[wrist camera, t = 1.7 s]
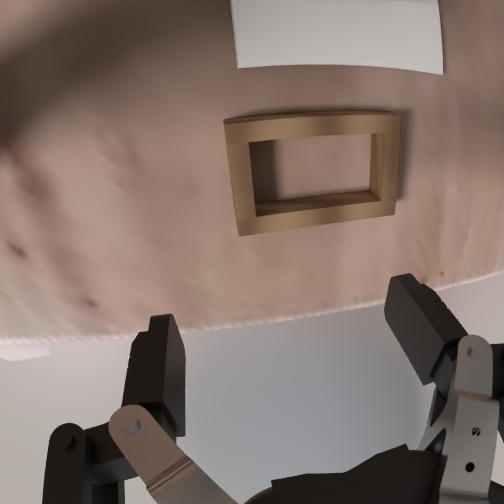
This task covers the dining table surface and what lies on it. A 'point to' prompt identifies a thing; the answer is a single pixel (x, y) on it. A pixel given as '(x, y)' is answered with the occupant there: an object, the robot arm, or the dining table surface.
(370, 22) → the hook board
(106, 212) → the dining table surface
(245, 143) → the walnut loop
